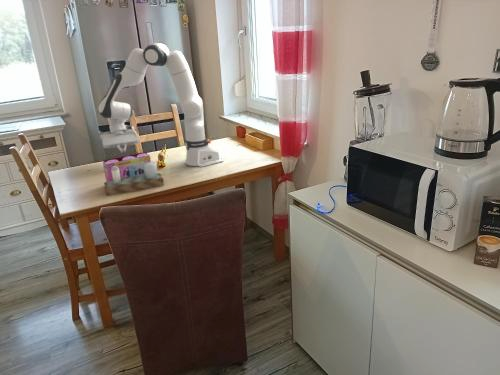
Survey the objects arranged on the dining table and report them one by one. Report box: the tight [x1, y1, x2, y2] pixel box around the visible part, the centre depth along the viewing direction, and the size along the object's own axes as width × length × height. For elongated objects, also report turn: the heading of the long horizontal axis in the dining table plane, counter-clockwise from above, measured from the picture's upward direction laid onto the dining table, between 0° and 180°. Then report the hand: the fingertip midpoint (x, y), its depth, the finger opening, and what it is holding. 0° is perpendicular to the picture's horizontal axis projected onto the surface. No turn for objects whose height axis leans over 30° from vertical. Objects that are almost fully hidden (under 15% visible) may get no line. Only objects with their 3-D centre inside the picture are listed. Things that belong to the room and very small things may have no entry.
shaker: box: [111, 166, 121, 184], centre depth 195 cm, size 4×4×9 cm
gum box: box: [102, 151, 152, 182], centre depth 207 cm, size 24×8×14 cm, turn 123°
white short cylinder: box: [143, 161, 158, 179], centre depth 202 cm, size 6×6×7 cm
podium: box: [104, 173, 165, 196], centre depth 201 cm, size 28×8×4 cm, turn 114°
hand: (123, 151), depth 225 cm, fingers closed
